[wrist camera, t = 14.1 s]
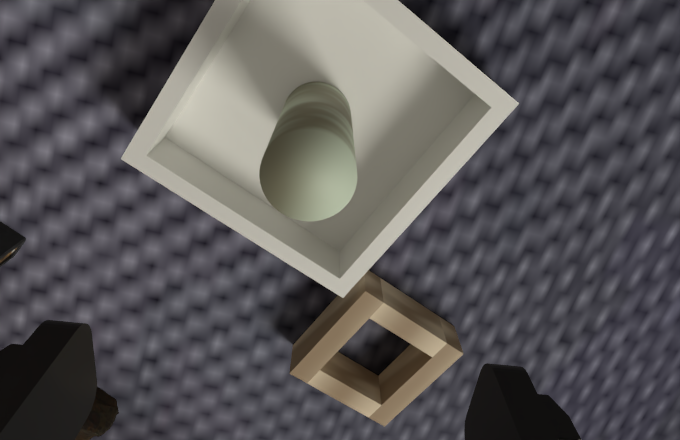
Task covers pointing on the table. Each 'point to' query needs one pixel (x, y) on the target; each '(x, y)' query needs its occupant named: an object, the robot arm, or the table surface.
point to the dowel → (311, 155)
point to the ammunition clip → (9, 243)
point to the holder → (355, 380)
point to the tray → (366, 112)
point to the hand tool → (99, 416)
